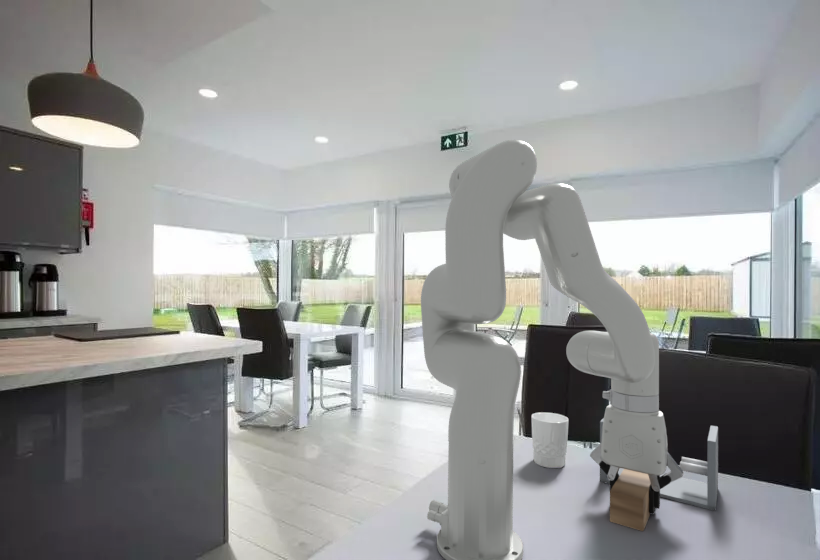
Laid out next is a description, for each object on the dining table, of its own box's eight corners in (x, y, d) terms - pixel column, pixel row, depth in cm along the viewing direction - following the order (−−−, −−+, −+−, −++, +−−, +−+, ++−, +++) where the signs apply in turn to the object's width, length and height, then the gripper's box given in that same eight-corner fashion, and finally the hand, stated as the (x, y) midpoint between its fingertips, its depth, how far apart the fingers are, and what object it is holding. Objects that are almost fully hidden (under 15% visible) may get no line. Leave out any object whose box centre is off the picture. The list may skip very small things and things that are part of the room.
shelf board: (643, 531, 71) (643, 499, 71) (609, 521, 74) (609, 491, 74) (656, 498, 82) (656, 471, 83) (626, 491, 85) (626, 464, 86)
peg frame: (599, 481, 90) (600, 421, 90) (612, 464, 98) (612, 409, 99) (715, 510, 78) (715, 441, 78) (717, 488, 87) (718, 426, 87)
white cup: (523, 459, 101) (523, 414, 101) (549, 453, 105) (549, 410, 105) (549, 472, 94) (550, 424, 94) (576, 465, 98) (576, 419, 98)
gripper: (578, 398, 81) (578, 500, 80) (689, 415, 71) (689, 531, 70) (589, 390, 87) (589, 485, 86) (693, 405, 77) (693, 512, 76)
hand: (634, 504), depth 78 cm, fingers closed on shelf board, 5 cm apart
